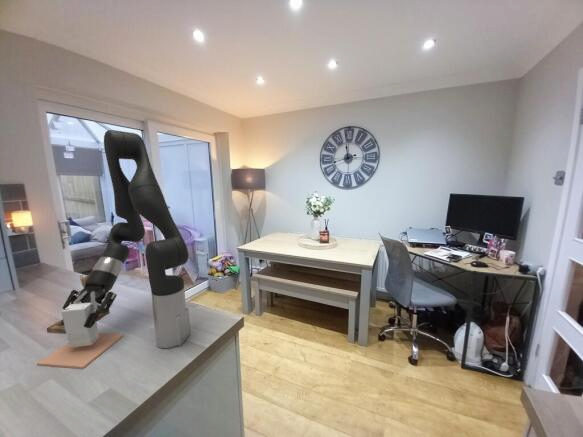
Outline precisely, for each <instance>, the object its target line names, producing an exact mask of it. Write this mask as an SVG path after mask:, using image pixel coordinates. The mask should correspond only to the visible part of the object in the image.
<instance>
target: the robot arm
mask: <svg viewBox="0 0 583 437" xmlns="http://www.w3.org/2000/svg"><path fill="white" fill-rule="evenodd" d="M103 147H104V153H105V157H106V162H107V167H108V171H109V176H110V180H111V184H112V185H111V186H112V189H113V198H114V199H113V200H114V212H115V216H117V217H118V218H121V219H124V220H125V221H126V222H125V221H121V222H116V223H115V224H114V225H113V226H111V229H110V231H109V236H108V241H107V245H106V247H105V250H104V251H103V252H102V254H101V256H100V258H99V259H98V260H97V262H96V263H95V264H94V266H93V268H92V270H91V271H90V273H89V276H88V278H87V280H86V281H85V287H83V288H82V289H81V290H76V289H72V290H71V292H70V293H69V295H68V297H67V299H66V300H65V303H64V304H63V306H62V309H63V310H64V309H65V308H67V307H68V306H69V305H71V304H80V303H91V306H92V313H90V315H89V317H88V318H87V320H86V322H85V324H84V327H86V328H91V327H92V326H93V325H94V324H95V322H97V321H96V320H97V318H98V316H99V315H100V314H102V313H107V312H108V310H109V311H110V308H112V305H113V303H114V302H115V299H116V298H117V296H118V294H117V293H114V292H113V291H111V290H112V289H113V287H114V285H115V284H116V281H117V279H118V277H119V275H120V273H121V272H122V270H123V267H124V264H125V262H126V261H127V258H128V257H129V255H130V251H131V250H130V248H129V247H128V246H126V245H124V244H122V243H123V242H130V243H138V242H141V241H143V239H144V237H145V234H146V228H145V226H144V222H143V220H142V218H144V219H145V220H146V221H148V222H149V223H151V224H152V225H153V226H155V227H156V228H157V229H158V230H159V232H161V234H162V235H163V237H164V239H159V240H154V241H151V242H148V244H147V245H146V246H145V252H144V253H145V263H146V267H147V275H148V281H149V285H150V290H151V291H150V292H151V301H152V302H151V303H152V311H153V313H152V314H153V324H154V335H155V344H156V347H158V348H160V349H170V348H175V347H178V346H179V347H180V346H182V345H183V344H184V342H185V341H186V340H187V339H188V337H189V336H190V335H191V324H190V323H191V322H190V309H189V307H187V306H186V305H187V304H186V303H187V302H186V293H185V292H186V291H185V279H184V277H182V276H180V275H173V274H171V275H168V274H167V273H166V270H169V269H173V268H177V267H180V266H183V265H185V264H186V263H187V262H188V259H189V250H188V247H187V244H186V242H185V240H184V237H183V235H182V234H181V232H180V230H179V228H178V226H177V225H176V223H175V221H174V219H173V217H172V214H171V212H170V209H169V207H168V205H167V202H166V200H165V197H164V194H163V191H162V189H161V187H160V184H159V182H158V180H157V178H156V175H155V173H154V170H153V168H152V164H151V162H150V158H149V154H148V151H147V147H146V144H145V142H144V139H143V137H141V135H140V134H138V133H135V132H128V131H123V130H114V129H108V130H106V131H105V132H104V136H103ZM120 160H133V161H134V162H135V165H136V169H135V172H134V175H133V176H132V178H131V179H130V180H129V179H128V178H127V176H126V174H125V173H124V171H123V169H122V167H121V162H120ZM141 217H142V218H141ZM61 320H62V319H61ZM61 320H60V321H61ZM61 326H64V321H63V320H62V321H61Z"/></svg>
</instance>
